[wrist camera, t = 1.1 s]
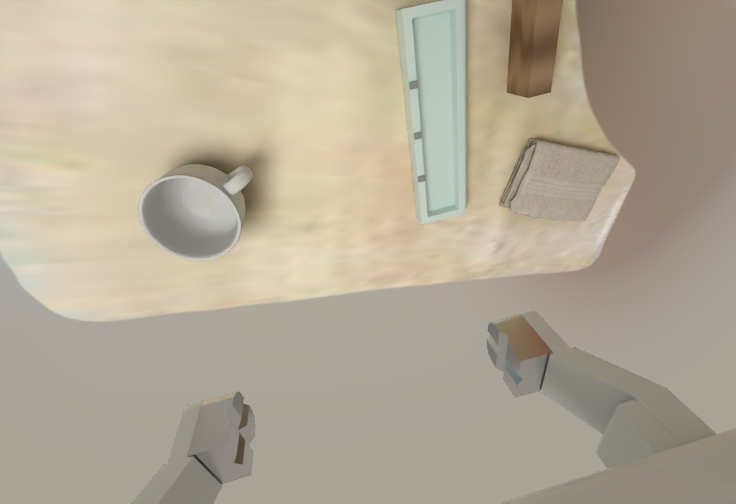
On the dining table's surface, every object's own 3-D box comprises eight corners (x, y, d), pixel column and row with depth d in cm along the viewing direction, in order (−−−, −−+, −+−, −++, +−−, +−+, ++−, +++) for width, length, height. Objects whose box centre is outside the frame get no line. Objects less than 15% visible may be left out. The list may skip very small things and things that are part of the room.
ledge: (395, 10, 37) (402, 8, 35) (462, -4, 37) (474, -7, 35) (416, 216, 52) (422, 225, 50) (463, 204, 53) (472, 212, 50)
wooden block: (512, -10, 38) (539, -15, 34) (537, -15, 39) (566, -21, 34) (506, 92, 45) (528, 97, 41) (527, 87, 45) (551, 92, 41)
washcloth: (523, 135, 49) (536, 140, 46) (614, 150, 54) (630, 156, 51) (493, 207, 55) (503, 215, 52) (577, 215, 60) (590, 223, 57)
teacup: (199, 242, 47) (184, 275, 41) (139, 178, 41) (111, 205, 35) (283, 199, 46) (283, 225, 40) (235, 127, 40) (225, 145, 34)
